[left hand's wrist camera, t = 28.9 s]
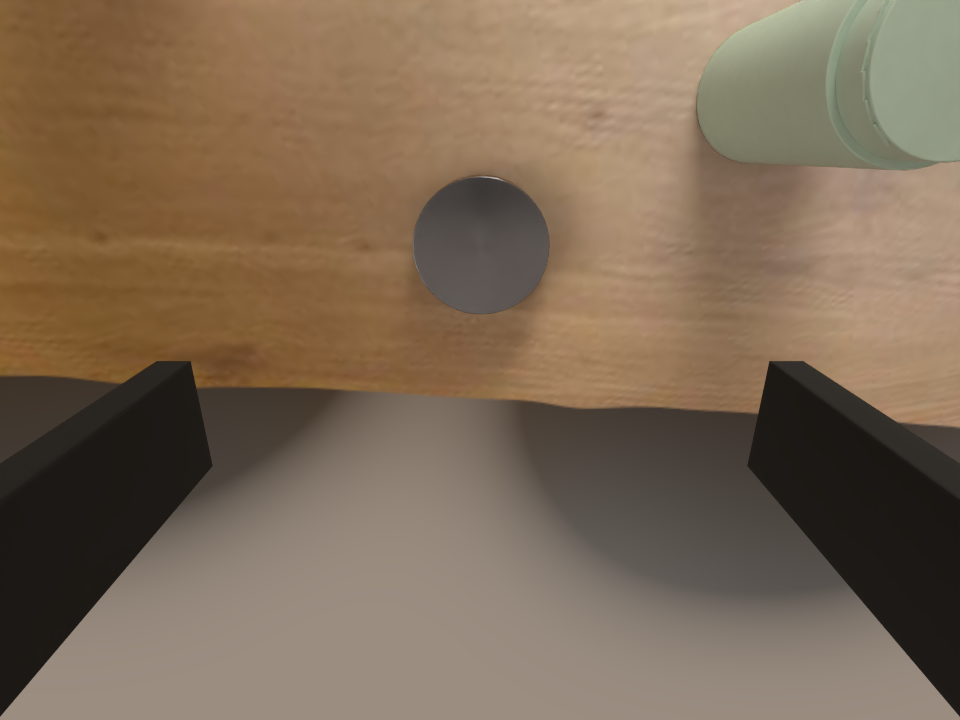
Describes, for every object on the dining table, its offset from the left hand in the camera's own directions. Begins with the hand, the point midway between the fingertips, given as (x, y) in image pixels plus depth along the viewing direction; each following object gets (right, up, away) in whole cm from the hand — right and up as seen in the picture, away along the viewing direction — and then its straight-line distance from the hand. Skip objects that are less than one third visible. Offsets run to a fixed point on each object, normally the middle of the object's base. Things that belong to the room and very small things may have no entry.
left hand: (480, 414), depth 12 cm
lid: (0, +9, +23) cm, 25 cm away
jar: (+18, +18, +21) cm, 33 cm away
